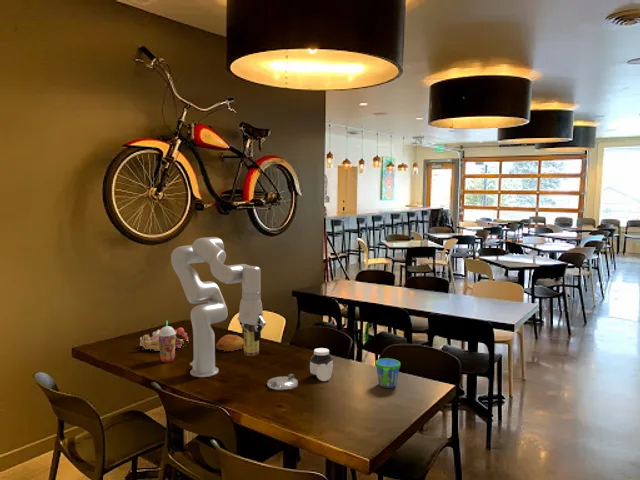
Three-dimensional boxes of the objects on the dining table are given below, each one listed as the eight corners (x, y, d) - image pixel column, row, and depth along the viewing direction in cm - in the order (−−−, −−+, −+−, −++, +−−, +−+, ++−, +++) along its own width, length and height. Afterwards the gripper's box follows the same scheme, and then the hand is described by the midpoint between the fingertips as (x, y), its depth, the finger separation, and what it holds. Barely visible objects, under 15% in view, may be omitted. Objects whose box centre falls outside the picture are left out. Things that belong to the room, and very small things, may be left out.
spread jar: (323, 370, 221) (323, 346, 221) (341, 377, 213) (341, 351, 212) (304, 377, 213) (304, 351, 212) (322, 383, 205) (322, 357, 204)
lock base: (260, 385, 202) (260, 379, 202) (281, 376, 213) (281, 371, 213) (283, 393, 194) (283, 386, 194) (304, 383, 205) (304, 377, 205)
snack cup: (395, 393, 194) (396, 369, 193) (370, 390, 198) (371, 366, 197) (403, 380, 209) (404, 358, 208) (380, 377, 213) (380, 355, 212)
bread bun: (230, 346, 266) (229, 332, 267) (250, 347, 257) (248, 332, 257) (210, 352, 255) (208, 337, 255) (230, 353, 245) (228, 338, 245)
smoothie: (155, 362, 232) (154, 321, 231) (166, 357, 240) (165, 318, 239) (168, 364, 229) (168, 323, 228) (180, 359, 237) (179, 319, 236)
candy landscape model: (178, 353, 247) (178, 336, 246) (133, 353, 247) (132, 336, 246) (191, 340, 272) (191, 324, 271) (150, 340, 272) (150, 324, 271)
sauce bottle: (244, 352, 201) (244, 305, 199) (259, 351, 201) (259, 305, 200) (243, 357, 194) (242, 309, 193) (258, 356, 195) (258, 308, 193)
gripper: (230, 295, 198) (230, 337, 199) (259, 300, 188) (259, 344, 189) (243, 292, 204) (243, 333, 205) (273, 297, 193) (272, 340, 195)
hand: (251, 338), depth 197 cm, fingers closed on sauce bottle, 6 cm apart
